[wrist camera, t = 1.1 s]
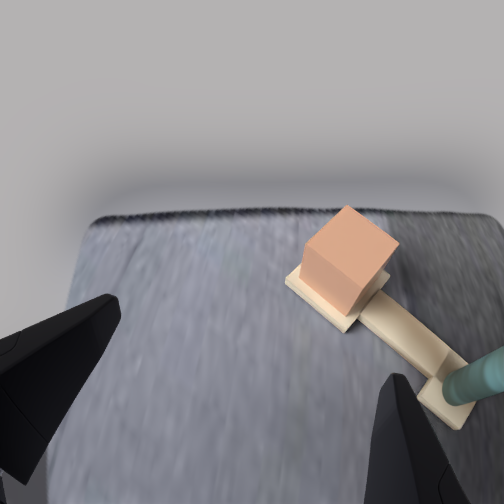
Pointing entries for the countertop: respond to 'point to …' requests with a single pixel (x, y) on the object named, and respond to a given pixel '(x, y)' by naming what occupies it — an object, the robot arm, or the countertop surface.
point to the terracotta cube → (346, 259)
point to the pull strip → (417, 350)
